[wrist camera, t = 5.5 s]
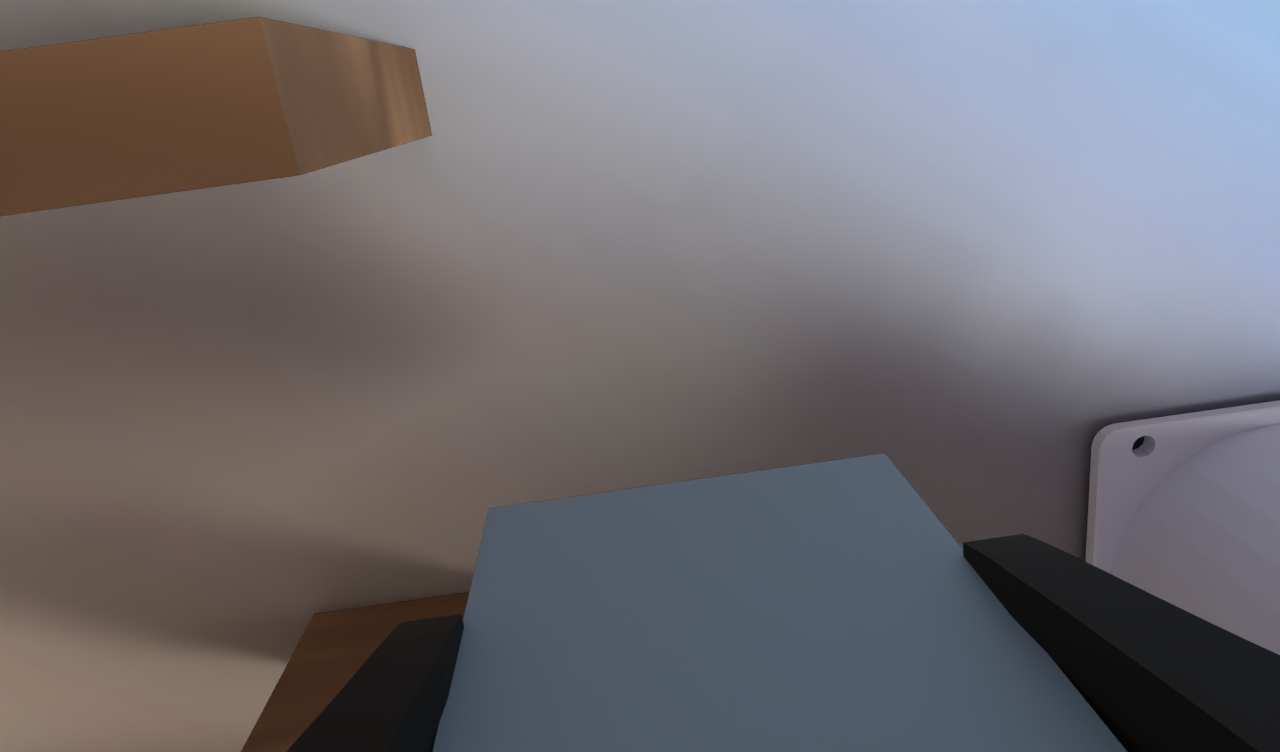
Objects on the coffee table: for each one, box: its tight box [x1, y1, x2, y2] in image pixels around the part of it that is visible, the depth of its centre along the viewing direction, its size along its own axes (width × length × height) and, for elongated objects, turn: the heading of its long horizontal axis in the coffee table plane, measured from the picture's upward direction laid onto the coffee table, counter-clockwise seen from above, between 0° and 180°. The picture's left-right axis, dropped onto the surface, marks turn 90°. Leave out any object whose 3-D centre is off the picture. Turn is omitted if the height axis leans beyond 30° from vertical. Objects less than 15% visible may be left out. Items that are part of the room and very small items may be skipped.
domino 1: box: [0, 17, 432, 216], centre depth 13 cm, size 2×5×8 cm, turn 97°
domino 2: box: [241, 592, 470, 752], centre depth 17 cm, size 2×5×8 cm, turn 97°
